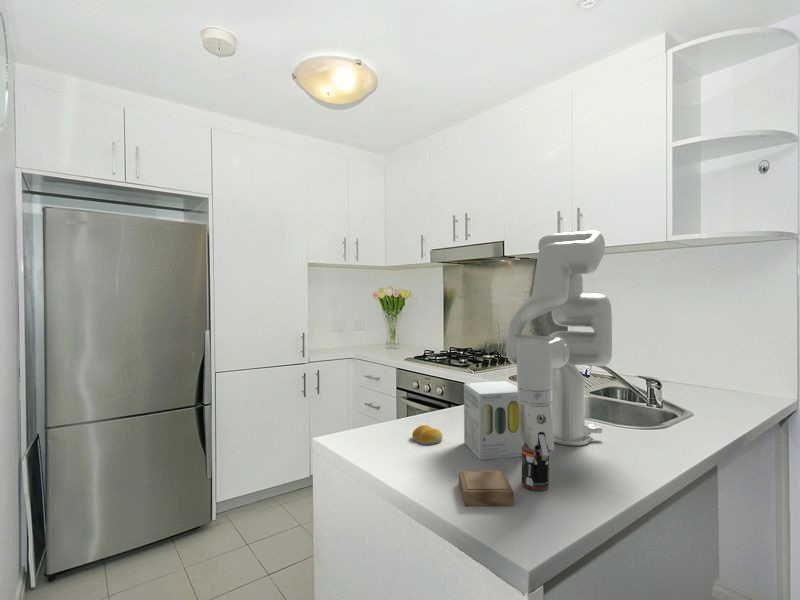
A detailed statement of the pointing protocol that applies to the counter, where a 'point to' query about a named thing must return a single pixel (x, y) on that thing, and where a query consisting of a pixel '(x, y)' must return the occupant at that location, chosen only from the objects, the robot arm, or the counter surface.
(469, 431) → the supplement box
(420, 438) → the bread roll
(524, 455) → the supplement bottle
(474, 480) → the walnut base
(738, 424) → the counter surface
